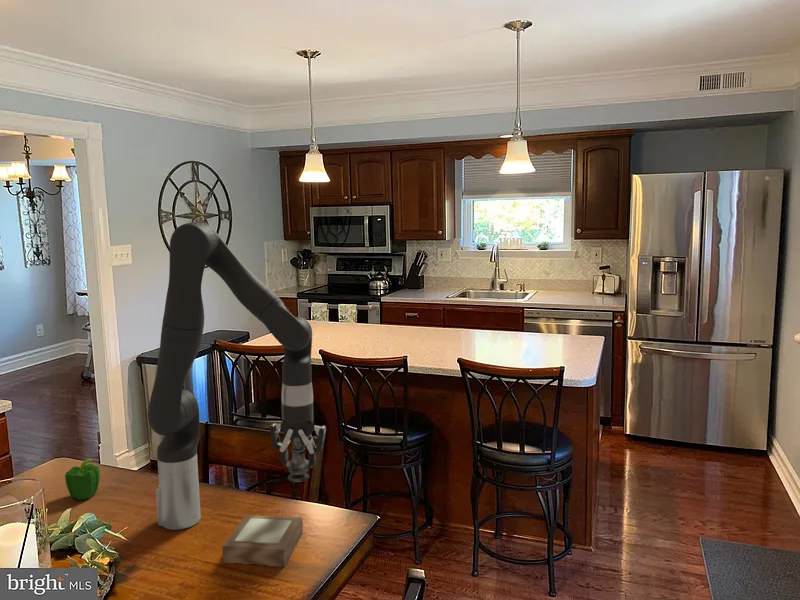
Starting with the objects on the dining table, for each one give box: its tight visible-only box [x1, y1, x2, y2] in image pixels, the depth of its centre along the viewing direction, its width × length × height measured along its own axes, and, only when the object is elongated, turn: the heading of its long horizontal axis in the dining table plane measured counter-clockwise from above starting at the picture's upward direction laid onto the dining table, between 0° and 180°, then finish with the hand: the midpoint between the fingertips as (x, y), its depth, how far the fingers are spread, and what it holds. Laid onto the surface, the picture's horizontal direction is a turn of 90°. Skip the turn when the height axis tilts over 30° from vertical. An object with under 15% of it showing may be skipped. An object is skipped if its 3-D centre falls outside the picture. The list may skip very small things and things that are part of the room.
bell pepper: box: [64, 458, 101, 501], centre depth 166 cm, size 8×8×10 cm
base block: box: [222, 514, 304, 568], centre depth 140 cm, size 14×14×4 cm
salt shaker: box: [285, 438, 310, 483], centre depth 150 cm, size 6×6×12 cm
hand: (298, 465), depth 150 cm, fingers closed on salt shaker, 6 cm apart
